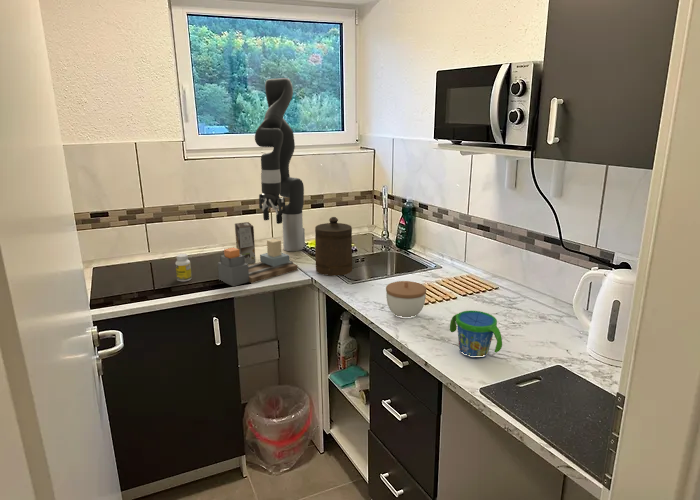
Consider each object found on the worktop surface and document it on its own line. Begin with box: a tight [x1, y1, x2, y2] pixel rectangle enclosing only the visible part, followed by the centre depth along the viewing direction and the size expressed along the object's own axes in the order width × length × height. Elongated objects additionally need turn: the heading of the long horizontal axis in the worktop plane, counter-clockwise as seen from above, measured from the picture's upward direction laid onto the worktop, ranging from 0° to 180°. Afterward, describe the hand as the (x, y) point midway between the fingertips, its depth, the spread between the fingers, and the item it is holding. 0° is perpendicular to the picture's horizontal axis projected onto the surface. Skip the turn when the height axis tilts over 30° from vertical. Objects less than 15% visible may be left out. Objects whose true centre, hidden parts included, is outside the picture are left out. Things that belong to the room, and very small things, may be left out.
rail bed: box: [248, 260, 299, 284], centre depth 195 cm, size 22×14×3 cm, turn 135°
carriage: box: [259, 238, 291, 267], centre depth 196 cm, size 8×9×9 cm
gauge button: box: [223, 247, 240, 258], centre depth 182 cm, size 4×4×3 cm
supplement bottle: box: [175, 253, 192, 282], centre depth 185 cm, size 5×5×10 cm
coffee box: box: [234, 221, 257, 265], centre depth 207 cm, size 9×6×16 cm
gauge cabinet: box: [217, 254, 250, 287], centre depth 184 cm, size 7×10×10 cm
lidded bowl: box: [385, 280, 427, 317], centre depth 154 cm, size 13×13×11 cm
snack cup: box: [449, 310, 503, 356], centre depth 129 cm, size 16×10×10 cm
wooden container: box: [314, 216, 353, 277], centre depth 194 cm, size 15×15×22 cm
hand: (272, 221), depth 193 cm, fingers open, 8 cm apart
